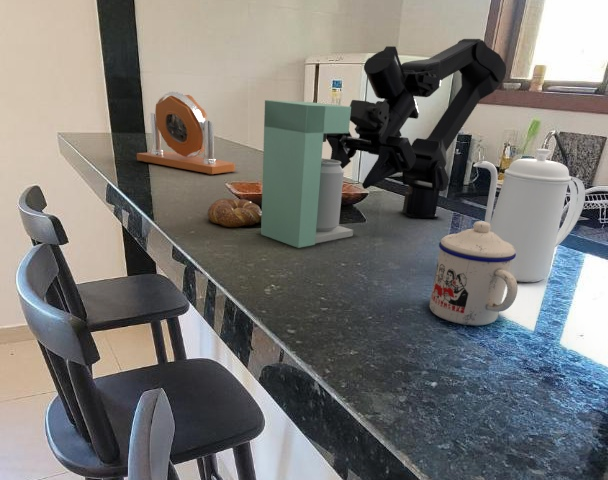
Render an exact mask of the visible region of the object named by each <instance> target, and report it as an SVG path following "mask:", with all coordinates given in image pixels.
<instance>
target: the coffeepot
mask: <svg viewBox="0 0 608 480" xmlns="http://www.w3.org/2000/svg"><path fill="white" fill-rule="evenodd" d="M534 153H535V154H536V155H537V156H536V158H518V159H515V160H514V161H511V163H510V165H509V166H508V168H506V169H504V173H503V176H504V178H503V181H502V184H501V188H500V191H499V194H498V197H497V201H496V203H495V198H496V193H497V186H498V180H499V179H498V178H499V175H498V174H499V173H498V170H497V168H496V166H495V165H494V164H493V163H492V162H489V161H486V160H480V161H478V162H475V163H474V164H473V166H472V167H475V168H482V169H487V170H488V171H489V172H490V185H489V191H488V197H487V204H486V209H485V214H484V215H485V216H484V221H483V222H487V223H489V224H490V225H491V228H490V231H491V232H493V233H495V234H496V235H498V236H499V237H500V238H501V239H502V240H503V241H506V242H508V243H510V244H511V245H512V246H513V247H514V248H515V251H516V252H515V253H516V256H515V258H514V259H513V260H512V264H511V267H510V271H509V273H511V274H512V275H513V276H514V278H515V279H516V282H517V283H535V282H540V281H543V280H544V279H545V280H546V279H547V277H548V276H549V275H550V273H551V267H552V263H553V258H554V255H555V254H554V253H555V248H557V247H558V246H559V245H560V244H561V243H562V242H563V241H564V240H565V239H566V238H567V237H568V236H569V234H570V233H571V232H572V230H573V229H574V228H575V226H576V225H577V222H578V221H579V218H580V216H581V214H582V211H583V208H584V206H585V200H586V188H585V185H584V182H583V181H582V180H581V179H580V178H578V177H575V176H570V170H569V168H568V167H567V166H566V165H565V164H563V163H561V162H559V161H553V160H548V159H547V158H548V156H550V155H552V154H551V153H552V150H551V149H548V148H536V149H535V152H534ZM568 187H569V191H570V193H569V194H570V195H569V196H570V197H569V199H570V200H569V205H568V209H567V214H566V216H565V218H564V221H563V223H562V225H561V221H562V216H563V211H564V206H565V202H566V201H565V200H566V196H567V191H568ZM494 204H495V207H494ZM493 209H494V210H493ZM560 225H561V226H560Z"/></svg>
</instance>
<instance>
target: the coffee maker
mask: <svg viewBox="0 0 608 480" xmlns="http://www.w3.org/2000/svg"><path fill="white" fill-rule="evenodd" d="M350 114H351V107H350V105H349V106H348V105H340V104H332V103H331V104H330V103H321V102H312V101H297V100H296V101H293V100H272V99H271V100H269V99H265V100H264V115H263V117H264V121H263V148H262V149H263V151H262V152H263V153H262V154H263V155H262V185H261V186H262V187H261V212H262V217H261V222H260V224H261V225H260V235H261V236H264V237H267V238H270V239H272V240H275V241H278V242H281V243H284V244H286V245H289V246H291V247H294V248H297V249H300V248H305V247H310V246H315V245H316V244H319V243H325V242H331V241H335V240H340V239H345V238H350V237H351V238H352V237H353V234H354V229H352V228H348V227H344V226H341V225H338V226H337V227H336V228H334V230H332V231H327V232H318V231H316V224H317V211H318V198H319V185H320V172H321V160H322V158H323V148H324V147H323V145H324V143H326V142H327V139H326V138H327V133H349V132H350V123H351V121H350Z"/></svg>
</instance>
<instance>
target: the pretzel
mask: <svg viewBox="0 0 608 480" xmlns="http://www.w3.org/2000/svg"><path fill="white" fill-rule="evenodd" d="M207 217H208V219H209V221H210V222H212V223H214V224H218V225H221V226H222V227H228V228H238V227H239V228H240V227H243V226H247V227H248V226H249V227H250V226H254V225H255V224H259V223H261V217H262V208H260V206H259V205H258V204H256V203H253V202H252V201H250V200H247V199H243V198H241V199H237V200H235V199H234V198H225V197H224V198H220V199H217V200H216V201H214V202H213V203H212V204H211V205H209V206H208V209H207Z"/></svg>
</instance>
